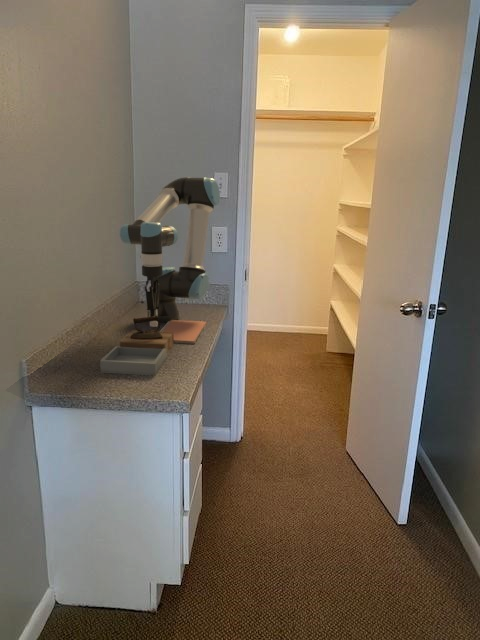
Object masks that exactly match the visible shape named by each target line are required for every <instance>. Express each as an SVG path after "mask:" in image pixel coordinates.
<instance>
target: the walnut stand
mask: <svg viewBox="0 0 480 640" xmlns="http://www.w3.org/2000/svg"><path fill="white" fill-rule="evenodd" d="M136 332H138V331H137V330H131V331H130V332H129V333H128V334H127V335H125V337H124V338H122V339H121V340H120V341H119V347H133V348H153V349H163V348H165V349H167V355H168V354H169V352H170V351H171V349H172V348H173V346H174V345H175V343H174V338H173V332H161V331H160V334H161V335H162V338H161V339H132V338H131V335H132V334H133V333H136Z"/></svg>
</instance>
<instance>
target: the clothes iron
mask: <svg viewBox="0 0 480 640" xmlns="http://www.w3.org/2000/svg"><path fill="white" fill-rule="evenodd" d="M132 321H133V324H134V326H135V331H138V332H136V333H133V334H132V335H131V338H132V339H161V338H162V335H161V334H160V332H161V331H160V332H159V330H161V329H160V328H161V325H160V322H158V317H157V315H156V316H152V317H147V316H146V317H145V316H144V317H137V318H135V317H134V318H133V319H132ZM150 321H157V322H158V326H157V327H156V328H152V329H147V330H142V329H140V328H137V325H136V324H141V323H148V322H149V323H150Z"/></svg>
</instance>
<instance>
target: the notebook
mask: <svg viewBox="0 0 480 640" xmlns="http://www.w3.org/2000/svg"><path fill="white" fill-rule="evenodd" d="M206 326H207V321H201V320H200V321H197V320H179V319H178V320H171V321H168V322H166V323H165V325H164V326H163V327H162V328H161V329H159V330H160V331H159V330H158V331H159V332H173V338H174V344H188V345H195V343H196V342H197V340H198V338H199V337H200V335H201V333H202V332H203V330H204V329H205V328H206Z"/></svg>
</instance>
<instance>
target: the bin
mask: <svg viewBox="0 0 480 640" xmlns="http://www.w3.org/2000/svg"><path fill="white" fill-rule="evenodd" d="M167 360H168V354H167V349H165V348H163V349H153V348H133V347H120V345H115V346H114V347H113V348H112V349H111V350H110V351H109V352H107V354H106V355H104V356H103V357H102V358H101V359H100V361H99V367H100V373H102V374H103V373H104V374H105V373H106V374H118V375H119V374H120V375H121V374H122V375H139V376H141V375H142V376H157V374H158V373H159V371H160V369H161V368H162V367H163V365H164V364H165V363H166V361H167Z"/></svg>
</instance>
